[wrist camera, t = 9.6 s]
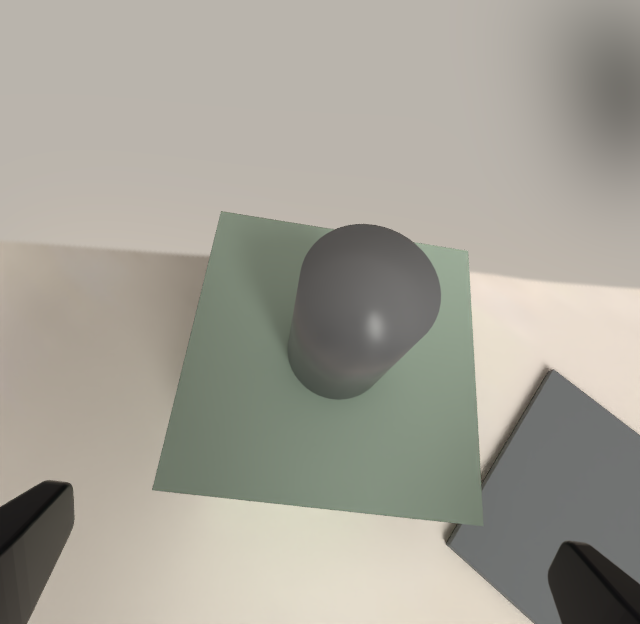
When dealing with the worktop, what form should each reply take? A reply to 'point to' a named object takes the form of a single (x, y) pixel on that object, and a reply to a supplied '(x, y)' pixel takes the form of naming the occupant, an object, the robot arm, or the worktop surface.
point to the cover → (329, 375)
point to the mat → (555, 497)
